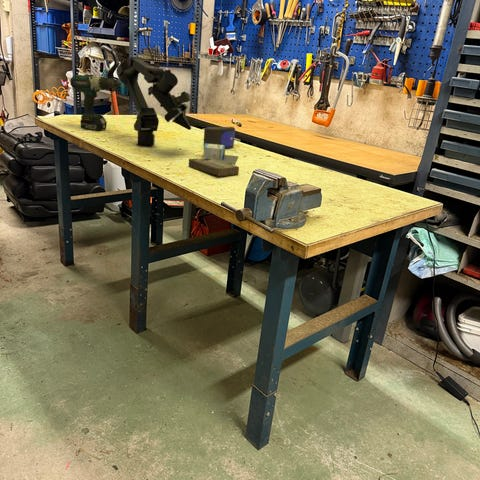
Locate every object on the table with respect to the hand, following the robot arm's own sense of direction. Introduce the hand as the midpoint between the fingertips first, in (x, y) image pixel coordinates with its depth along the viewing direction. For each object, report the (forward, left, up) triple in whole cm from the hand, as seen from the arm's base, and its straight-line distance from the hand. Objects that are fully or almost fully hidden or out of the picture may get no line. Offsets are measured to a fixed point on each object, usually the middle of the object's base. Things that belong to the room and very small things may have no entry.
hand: (190, 129), depth 174 cm
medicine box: (+6, 0, -8) cm, 10 cm away
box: (+11, -21, -11) cm, 27 cm away
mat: (+13, -1, -10) cm, 17 cm away
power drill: (-47, +33, -11) cm, 59 cm away
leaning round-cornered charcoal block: (+11, +20, -11) cm, 25 cm away
